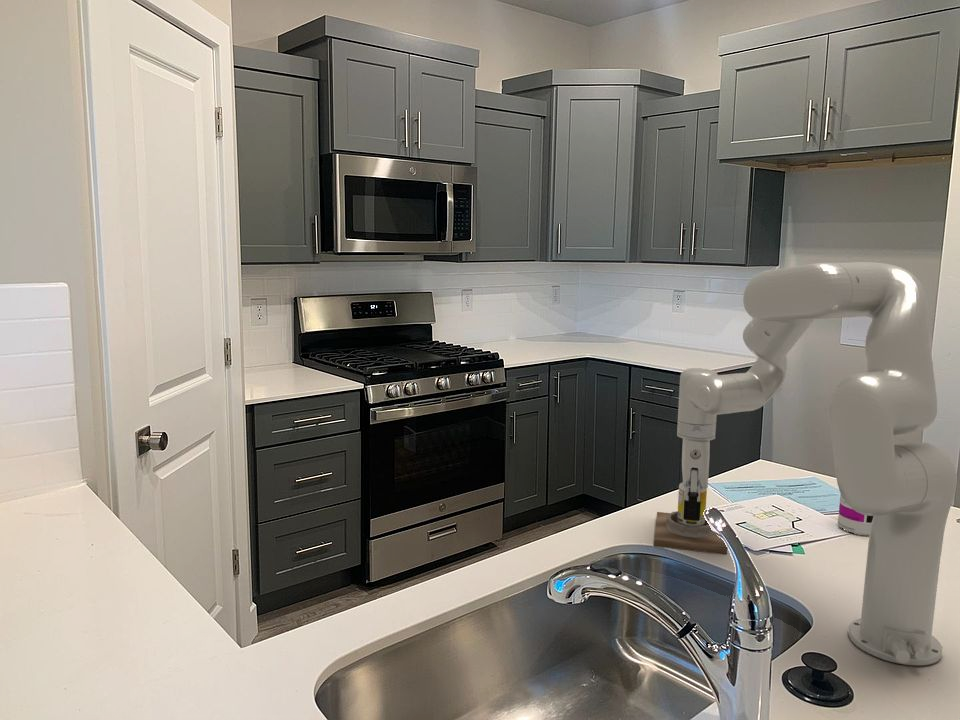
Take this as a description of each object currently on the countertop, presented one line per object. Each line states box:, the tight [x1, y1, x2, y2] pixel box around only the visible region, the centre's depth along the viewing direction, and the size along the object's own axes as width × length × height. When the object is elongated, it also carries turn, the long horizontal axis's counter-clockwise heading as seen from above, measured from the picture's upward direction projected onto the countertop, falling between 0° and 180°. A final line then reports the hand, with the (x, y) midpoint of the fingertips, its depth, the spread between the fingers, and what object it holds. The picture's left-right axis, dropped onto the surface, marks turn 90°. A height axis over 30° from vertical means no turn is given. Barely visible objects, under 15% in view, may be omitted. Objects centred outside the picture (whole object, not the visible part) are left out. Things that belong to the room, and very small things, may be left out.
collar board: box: [653, 510, 728, 555], centre depth 158 cm, size 16×14×4 cm
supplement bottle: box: [677, 474, 708, 527], centre depth 157 cm, size 6×6×10 cm
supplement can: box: [837, 493, 873, 537], centre depth 162 cm, size 8×8×15 cm
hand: (691, 513), depth 157 cm, fingers closed on supplement bottle, 5 cm apart
